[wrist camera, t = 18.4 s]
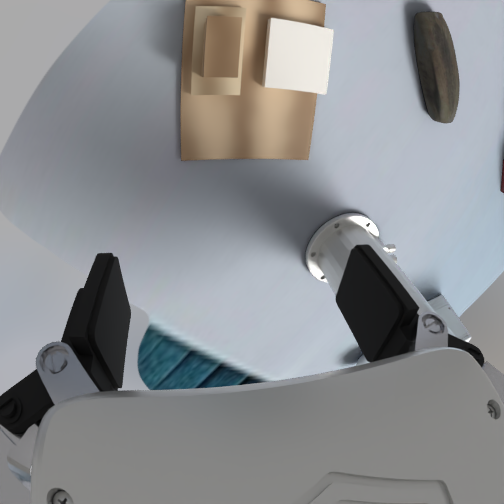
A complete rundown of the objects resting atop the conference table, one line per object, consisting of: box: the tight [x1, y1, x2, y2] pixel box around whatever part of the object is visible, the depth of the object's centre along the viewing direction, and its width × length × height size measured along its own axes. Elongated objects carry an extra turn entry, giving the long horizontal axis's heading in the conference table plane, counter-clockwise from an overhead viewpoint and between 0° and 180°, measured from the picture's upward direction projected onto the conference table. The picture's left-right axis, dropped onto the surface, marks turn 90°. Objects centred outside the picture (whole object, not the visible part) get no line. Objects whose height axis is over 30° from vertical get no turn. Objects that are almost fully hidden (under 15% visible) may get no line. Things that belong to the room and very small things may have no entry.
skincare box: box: [428, 295, 471, 342], centre depth 57 cm, size 8×6×15 cm
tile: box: [262, 18, 334, 95], centre depth 25 cm, size 7×1×8 cm
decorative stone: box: [414, 12, 459, 123], centre depth 26 cm, size 17×6×4 cm, turn 14°
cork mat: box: [181, 0, 326, 161], centre depth 26 cm, size 15×20×1 cm
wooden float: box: [191, 6, 246, 95], centre depth 22 cm, size 5×10×5 cm, turn 176°
